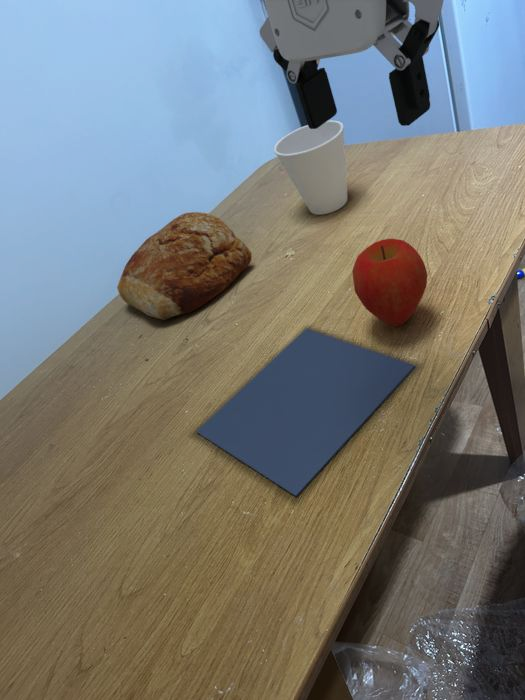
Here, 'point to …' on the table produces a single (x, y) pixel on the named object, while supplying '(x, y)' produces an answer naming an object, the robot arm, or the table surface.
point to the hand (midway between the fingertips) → (366, 119)
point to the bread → (183, 266)
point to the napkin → (304, 407)
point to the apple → (390, 280)
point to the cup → (316, 165)
